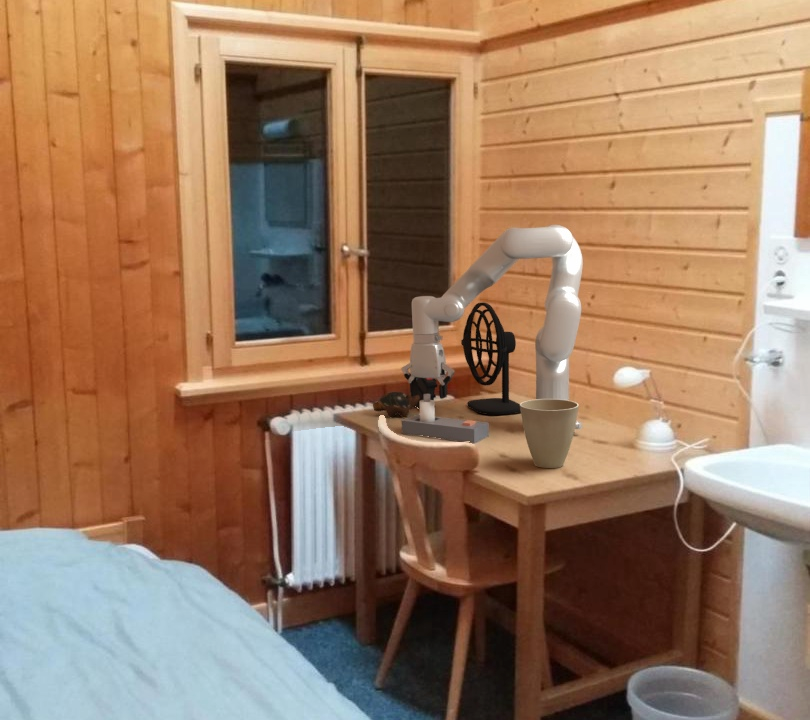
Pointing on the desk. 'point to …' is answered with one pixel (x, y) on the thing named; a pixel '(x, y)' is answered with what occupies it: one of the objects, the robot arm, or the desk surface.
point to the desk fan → (490, 361)
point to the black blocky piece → (426, 388)
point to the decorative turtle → (396, 403)
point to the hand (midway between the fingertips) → (428, 396)
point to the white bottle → (427, 409)
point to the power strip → (446, 428)
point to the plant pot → (549, 429)
